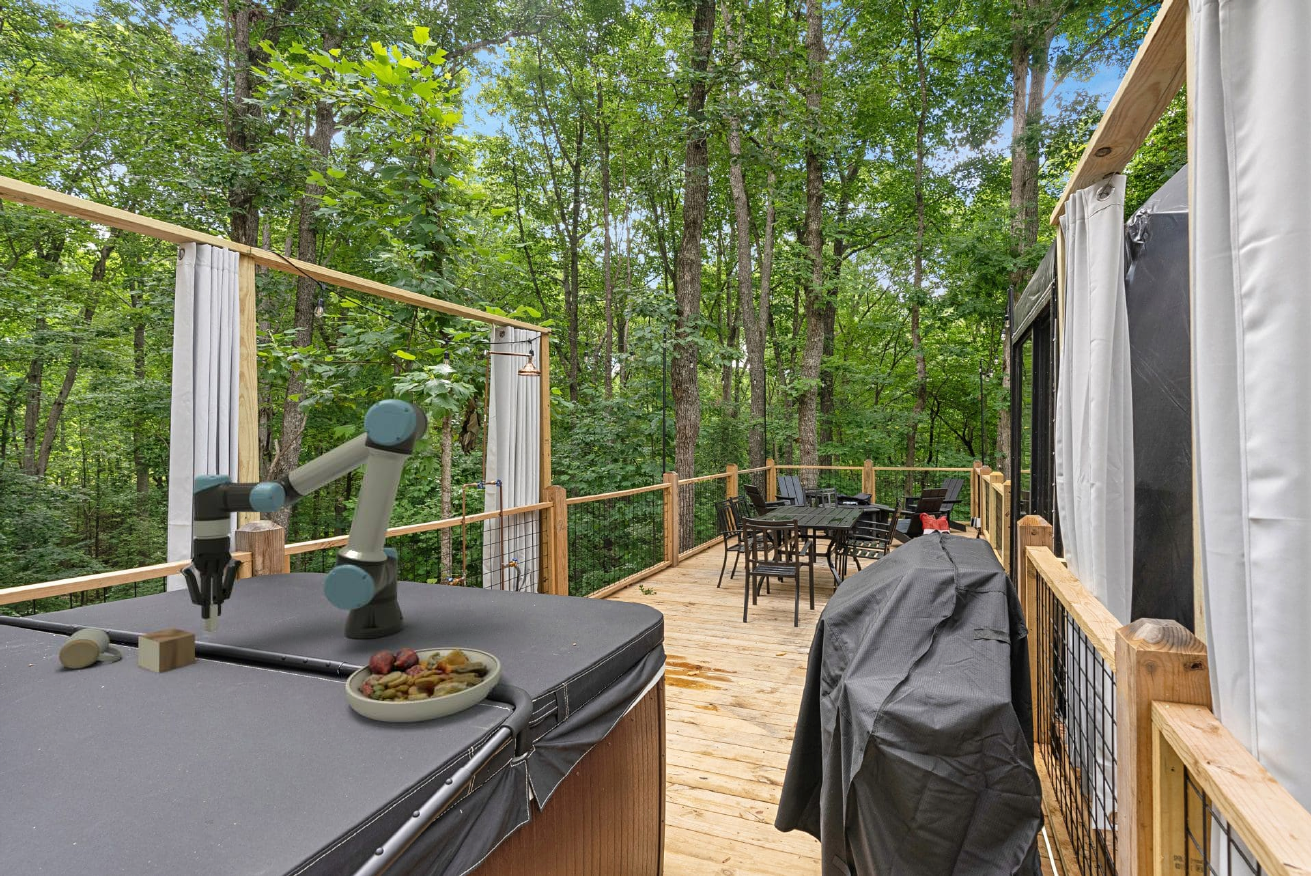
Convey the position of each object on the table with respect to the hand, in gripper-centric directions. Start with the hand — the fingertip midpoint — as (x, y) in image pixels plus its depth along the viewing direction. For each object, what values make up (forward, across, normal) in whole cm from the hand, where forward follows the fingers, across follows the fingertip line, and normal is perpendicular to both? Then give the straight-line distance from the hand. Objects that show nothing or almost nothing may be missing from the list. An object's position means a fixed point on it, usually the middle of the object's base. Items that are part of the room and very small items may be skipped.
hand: (211, 630), depth 149 cm
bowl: (+6, -8, +68) cm, 69 cm away
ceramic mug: (+6, +17, -17) cm, 25 cm away
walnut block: (+2, +6, 0) cm, 6 cm away
